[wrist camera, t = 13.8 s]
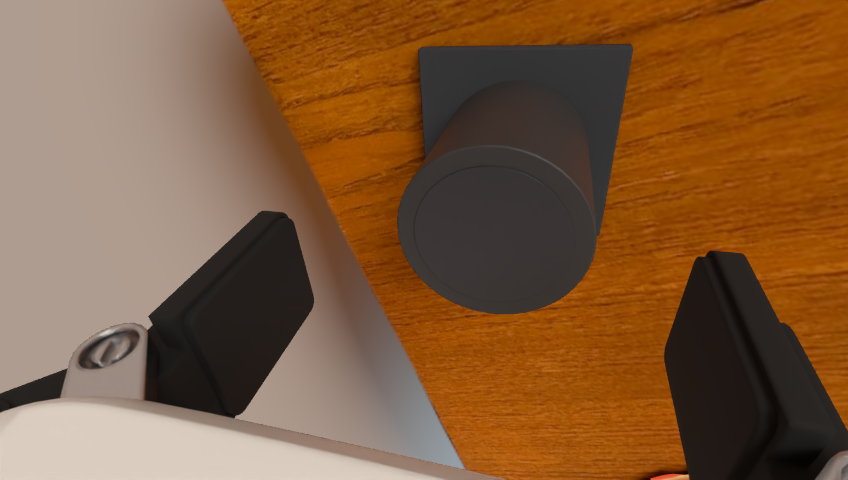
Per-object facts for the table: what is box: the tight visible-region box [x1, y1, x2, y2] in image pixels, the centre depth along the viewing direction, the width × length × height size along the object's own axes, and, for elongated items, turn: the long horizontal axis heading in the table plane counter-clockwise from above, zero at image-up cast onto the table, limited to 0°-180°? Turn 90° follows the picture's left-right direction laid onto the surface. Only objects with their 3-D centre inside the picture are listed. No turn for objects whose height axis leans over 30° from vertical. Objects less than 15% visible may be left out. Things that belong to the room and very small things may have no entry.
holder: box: [397, 81, 597, 314], centre depth 16 cm, size 6×6×7 cm
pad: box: [418, 44, 633, 236], centre depth 19 cm, size 8×8×1 cm
